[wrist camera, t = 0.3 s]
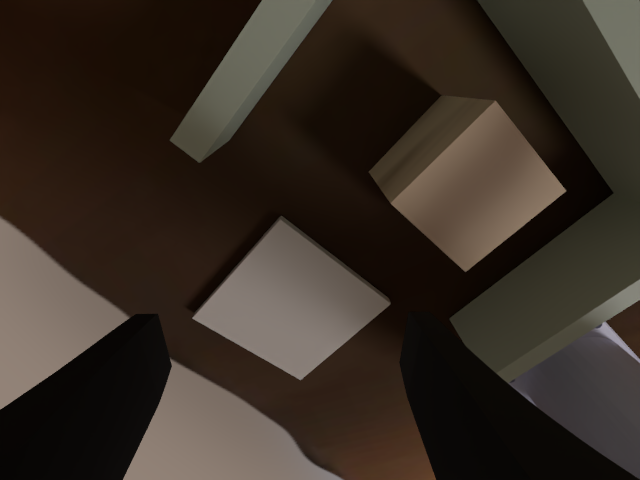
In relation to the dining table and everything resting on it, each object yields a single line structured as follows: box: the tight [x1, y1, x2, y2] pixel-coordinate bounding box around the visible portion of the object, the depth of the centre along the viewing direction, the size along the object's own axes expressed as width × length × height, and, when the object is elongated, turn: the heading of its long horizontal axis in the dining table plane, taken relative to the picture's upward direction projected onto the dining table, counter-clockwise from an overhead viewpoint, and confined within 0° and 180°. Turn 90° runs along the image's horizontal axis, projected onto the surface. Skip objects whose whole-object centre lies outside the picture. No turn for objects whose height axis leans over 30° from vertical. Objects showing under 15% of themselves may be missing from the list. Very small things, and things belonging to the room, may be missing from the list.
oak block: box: [369, 95, 566, 272], centre depth 15 cm, size 5×5×5 cm
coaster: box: [193, 216, 391, 380], centre depth 20 cm, size 9×9×1 cm
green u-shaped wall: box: [170, 0, 640, 383], centre depth 15 cm, size 20×13×5 cm, turn 48°
